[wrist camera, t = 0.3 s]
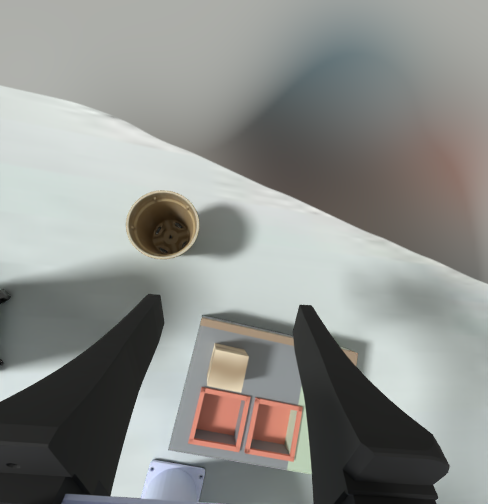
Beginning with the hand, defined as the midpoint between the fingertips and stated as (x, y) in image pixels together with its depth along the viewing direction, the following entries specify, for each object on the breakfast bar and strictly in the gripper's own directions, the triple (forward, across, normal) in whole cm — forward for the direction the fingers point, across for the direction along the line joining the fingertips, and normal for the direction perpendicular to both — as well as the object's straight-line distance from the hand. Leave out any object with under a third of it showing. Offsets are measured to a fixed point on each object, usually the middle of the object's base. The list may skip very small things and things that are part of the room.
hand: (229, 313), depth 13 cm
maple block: (+13, +1, +24) cm, 27 cm away
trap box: (+13, -5, +30) cm, 33 cm away
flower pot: (+27, +11, +12) cm, 32 cm away
